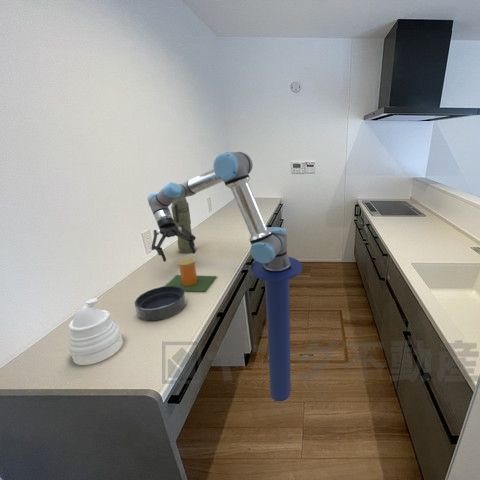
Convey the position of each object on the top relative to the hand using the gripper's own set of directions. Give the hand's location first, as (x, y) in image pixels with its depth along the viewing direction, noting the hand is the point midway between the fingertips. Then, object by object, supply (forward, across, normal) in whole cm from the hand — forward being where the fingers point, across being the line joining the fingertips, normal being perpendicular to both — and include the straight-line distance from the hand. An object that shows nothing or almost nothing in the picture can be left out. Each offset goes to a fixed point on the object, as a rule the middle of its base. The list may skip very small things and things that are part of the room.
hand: (180, 256), depth 129 cm
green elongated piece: (-15, -13, -30) cm, 36 cm away
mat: (+15, 0, -1) cm, 15 cm away
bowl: (+24, +16, +8) cm, 30 cm away
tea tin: (+14, 0, 0) cm, 14 cm away
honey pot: (+31, +38, +16) cm, 52 cm away
